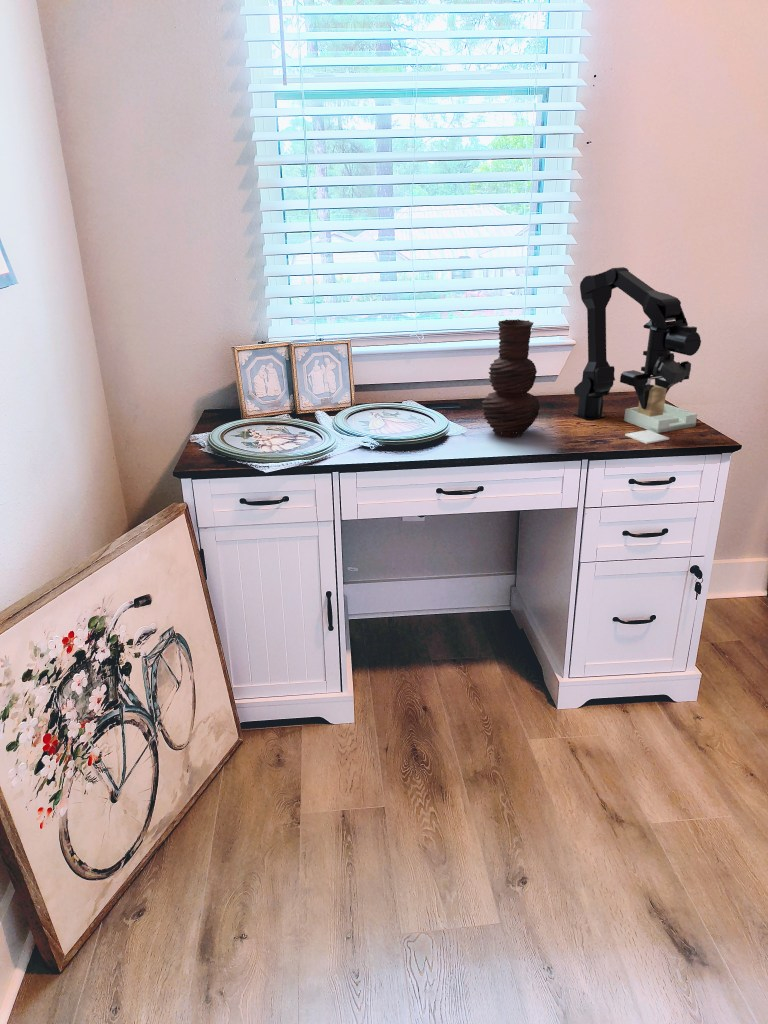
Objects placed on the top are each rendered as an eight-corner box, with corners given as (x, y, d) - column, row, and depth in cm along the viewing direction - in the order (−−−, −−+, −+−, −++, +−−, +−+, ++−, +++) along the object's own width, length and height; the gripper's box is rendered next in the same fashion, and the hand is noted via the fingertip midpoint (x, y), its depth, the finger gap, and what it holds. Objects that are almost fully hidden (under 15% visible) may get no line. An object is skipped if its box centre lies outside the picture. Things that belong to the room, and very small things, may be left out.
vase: (468, 433, 208) (472, 321, 195) (506, 421, 217) (512, 315, 204) (511, 446, 197) (518, 329, 185) (549, 434, 206) (558, 322, 194)
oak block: (649, 416, 197) (653, 390, 194) (637, 412, 201) (641, 386, 198) (662, 414, 199) (666, 388, 196) (650, 410, 203) (654, 384, 200)
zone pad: (646, 443, 198) (646, 442, 198) (624, 435, 204) (625, 433, 204) (669, 439, 201) (669, 438, 201) (647, 431, 207) (647, 429, 207)
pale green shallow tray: (657, 433, 206) (658, 420, 204) (624, 420, 216) (625, 408, 215) (695, 426, 211) (697, 414, 210) (661, 414, 222) (662, 402, 221)
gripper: (653, 358, 183) (645, 420, 189) (710, 350, 190) (700, 410, 196) (622, 349, 192) (615, 409, 198) (677, 342, 199) (668, 400, 205)
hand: (650, 407), depth 199 cm, fingers closed on oak block, 4 cm apart
